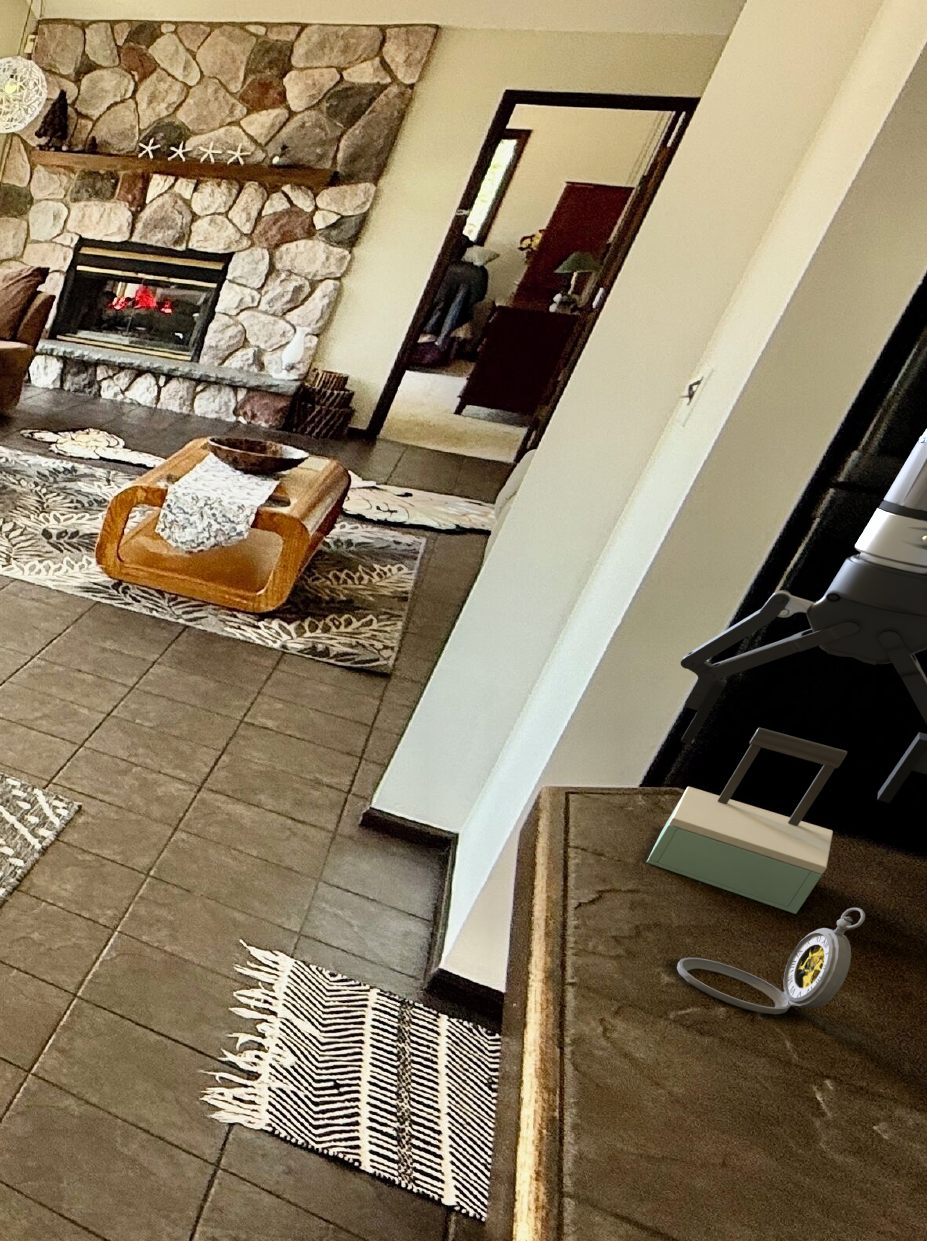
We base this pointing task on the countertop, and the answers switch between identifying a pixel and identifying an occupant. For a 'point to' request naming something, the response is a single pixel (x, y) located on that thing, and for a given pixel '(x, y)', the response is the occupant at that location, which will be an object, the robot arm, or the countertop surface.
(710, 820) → the cream coin bank
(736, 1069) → the countertop surface
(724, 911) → the countertop surface
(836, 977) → the pocket watch
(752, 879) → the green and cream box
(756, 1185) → the countertop surface
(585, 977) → the countertop surface
